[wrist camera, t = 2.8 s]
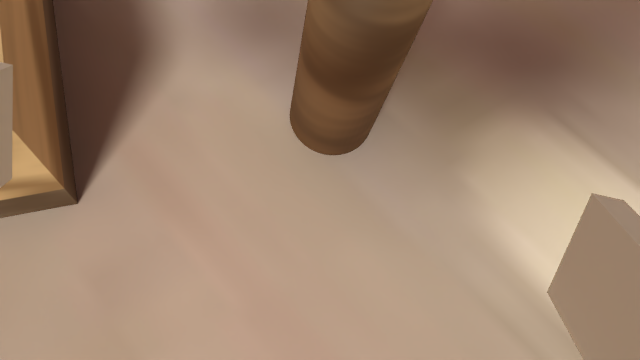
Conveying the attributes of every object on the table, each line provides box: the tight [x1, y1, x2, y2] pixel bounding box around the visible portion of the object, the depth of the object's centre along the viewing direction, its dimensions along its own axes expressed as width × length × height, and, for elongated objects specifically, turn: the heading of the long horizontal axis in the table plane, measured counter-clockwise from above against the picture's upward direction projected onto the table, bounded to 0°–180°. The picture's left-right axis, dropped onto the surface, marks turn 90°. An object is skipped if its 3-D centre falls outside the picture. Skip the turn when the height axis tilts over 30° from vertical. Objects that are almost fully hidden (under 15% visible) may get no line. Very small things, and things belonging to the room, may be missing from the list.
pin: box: [290, 0, 433, 155], centre depth 23 cm, size 4×4×12 cm
